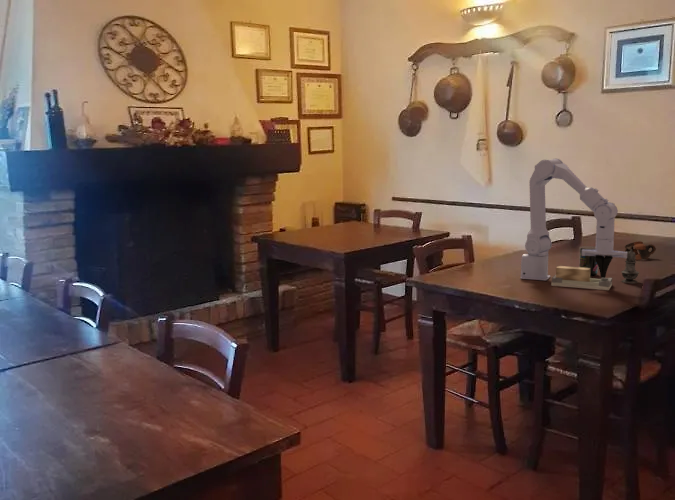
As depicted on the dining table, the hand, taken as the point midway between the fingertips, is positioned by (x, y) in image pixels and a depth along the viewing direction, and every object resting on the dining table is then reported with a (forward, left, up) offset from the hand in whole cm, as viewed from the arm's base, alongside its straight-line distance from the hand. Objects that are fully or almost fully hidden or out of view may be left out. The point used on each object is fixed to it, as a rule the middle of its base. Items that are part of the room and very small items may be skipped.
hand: (603, 277), depth 233 cm
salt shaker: (+7, +12, -4) cm, 15 cm away
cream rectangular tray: (-7, 0, -3) cm, 8 cm away
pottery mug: (+7, +62, -4) cm, 62 cm away
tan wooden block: (-10, 0, -2) cm, 10 cm away
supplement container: (-8, +19, -4) cm, 21 cm away
